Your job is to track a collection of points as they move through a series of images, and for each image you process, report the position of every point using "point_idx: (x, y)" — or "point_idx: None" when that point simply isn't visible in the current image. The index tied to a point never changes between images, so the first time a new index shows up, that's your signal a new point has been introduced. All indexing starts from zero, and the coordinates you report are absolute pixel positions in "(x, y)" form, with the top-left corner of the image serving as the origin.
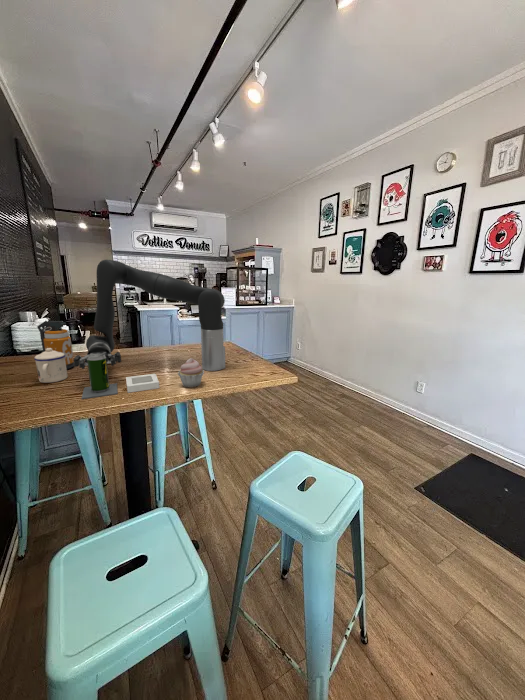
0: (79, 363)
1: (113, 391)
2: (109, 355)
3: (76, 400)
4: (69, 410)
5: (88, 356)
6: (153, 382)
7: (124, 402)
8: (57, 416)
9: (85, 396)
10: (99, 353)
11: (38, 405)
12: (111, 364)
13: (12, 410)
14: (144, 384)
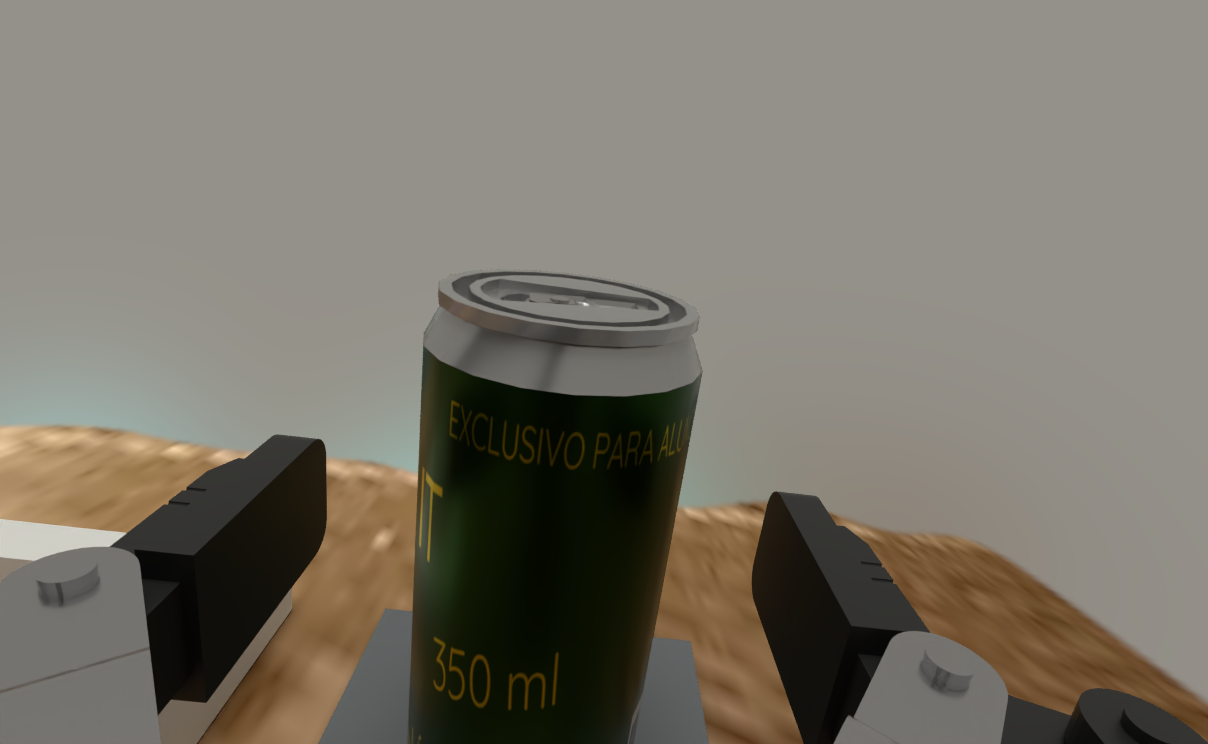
0: (850, 533)
1: (402, 658)
2: (86, 679)
3: (726, 651)
4: (720, 536)
5: (677, 299)
6: (8, 529)
7: (404, 494)
8: (758, 508)
9: (663, 660)
10: (511, 315)
11: (1007, 690)
12: (321, 510)
13: (1147, 684)
14: (116, 537)
